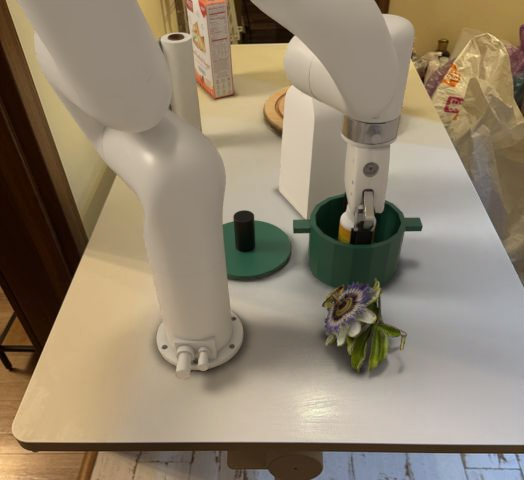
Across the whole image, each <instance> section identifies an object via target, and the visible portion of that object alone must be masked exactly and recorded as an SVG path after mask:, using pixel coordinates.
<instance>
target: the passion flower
mask: <svg viewBox="0 0 524 480" xmlns="http://www.w3.org/2000/svg"><path fill="white" fill-rule="evenodd" d="M344 288H345V285H341V286H340V287H338V288H333V290H332V291H331V292H329V293H327V294H326V296H325V300H324V301H323V302H322V304H321V307H322V308H326V310H327V315H326V318H325V319H324V323H325V325H324V326H323V328H325V329H326V332H325V336H327V338H326V340H325V344H324V345H325V346H327V347H332V346H333V345H334V344H336V346H337V347H342V346H344V345H346V351H347V354H348V355H349V356H351V357H350V365H351V369H353V370H355V371H356V372H357V373H360V370H361V367H362V366H363V365H364V363H365V361H366V356H367V351H368V347H369V346H368V343H369V341H370V339H371V342H370V343H371V344H370V355H369V356H368V369H367V370H368V373H370V372H372V371H373V370H375V369H376V368H378V366H379V365H381V364H382V363H383V362H384V361H385V359H386V358H387V357H388V354H389V351H390V347H391V345H390V340H389V338H388V337H391V338H399V337H400V344H399V349H398V350H399V351H401V352H402V351H404V348H405V344H406V338H407V336H408V333H407V332H406V331H404V330H402V329H400V328H398V327H396V326H395V325H394V326H393V325H391V324H388V323H385V322H384V319H383V316H382V305H381V304H382V303H381V302H382V300H381V299H382V298H381V296H382V292H383V288H381V286H380V283H379V281H378V280H377V279H376V278H374V285H373V287H372V288H371V287H369V284H366V283H365V284H364V285H363V283H362V282H361V284H359V282H356V284H354V282H353V284H352V285H349V284H348V288H347V290H344ZM367 325H368V326H367ZM366 326H367V327H366ZM364 328H366V329H364ZM363 329H364V330H363ZM362 330H363V331H362ZM402 333H403V334H402Z"/></svg>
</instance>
